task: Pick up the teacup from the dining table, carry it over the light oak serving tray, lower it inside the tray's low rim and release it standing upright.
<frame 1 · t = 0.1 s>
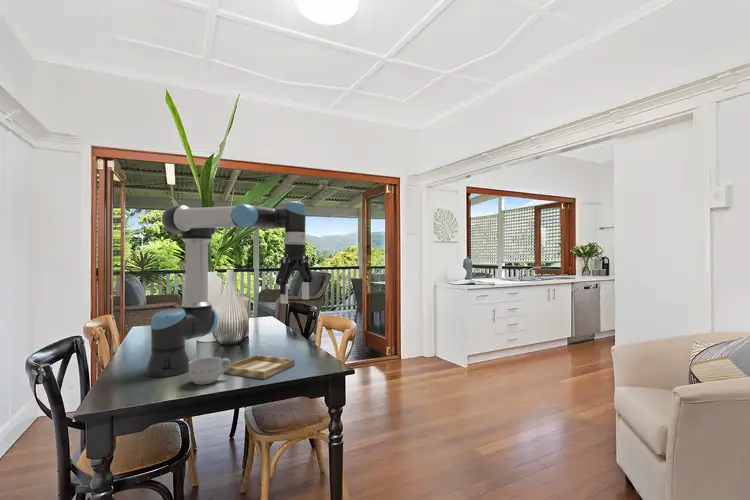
hand: (295, 301, 149), 28 cm above the table, tool pointing down, fingers open, 13 cm apart
serving tray: (260, 369, 158), on the table
teacup: (209, 382, 143), on the table
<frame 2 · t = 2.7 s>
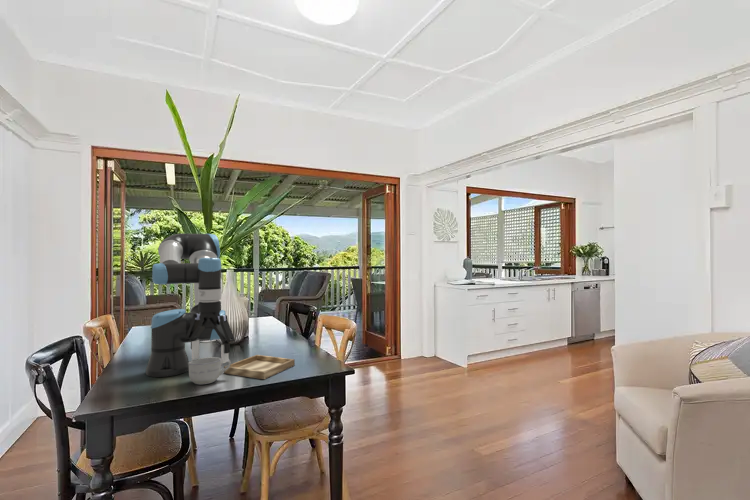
hand: (209, 360, 143), 7 cm above the table, tool pointing down, fingers open, 13 cm apart
teacup: (209, 382, 143), on the table, touching gripper
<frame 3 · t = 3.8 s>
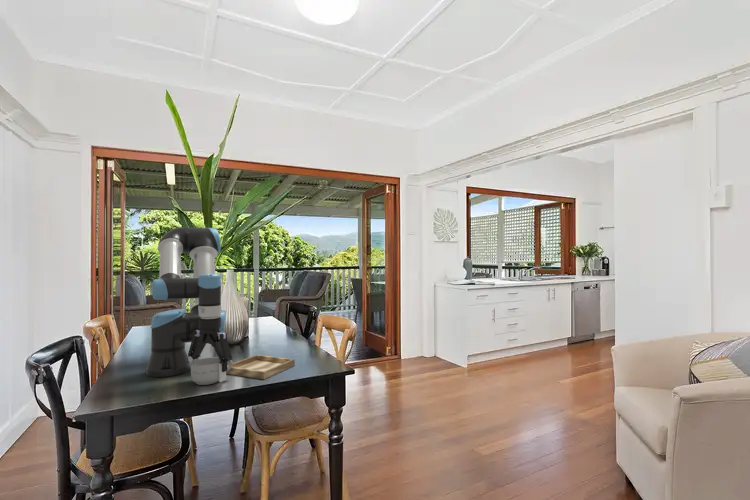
hand: (209, 378, 144), 1 cm above the table, tool pointing down, fingers closed on teacup, 11 cm apart
teacup: (211, 382, 143), on the table, touching gripper
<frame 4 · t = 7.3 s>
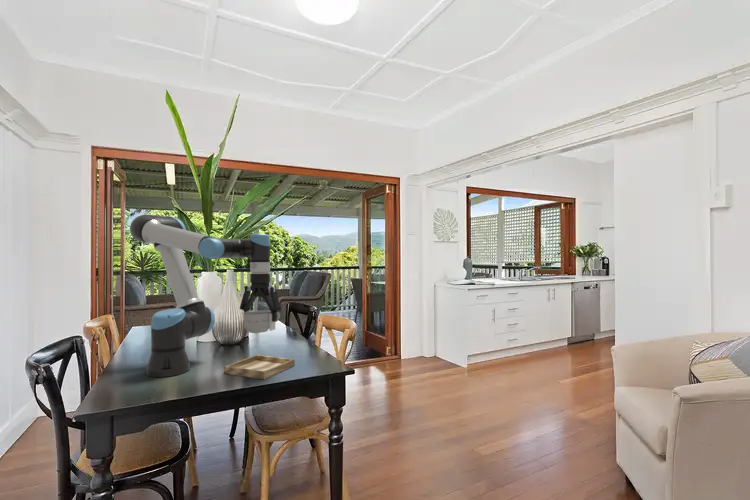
hand: (260, 328, 158), 16 cm above the table, tool pointing down, fingers closed on teacup, 11 cm apart
teacup: (262, 332, 158), point 15 cm above the table, touching gripper
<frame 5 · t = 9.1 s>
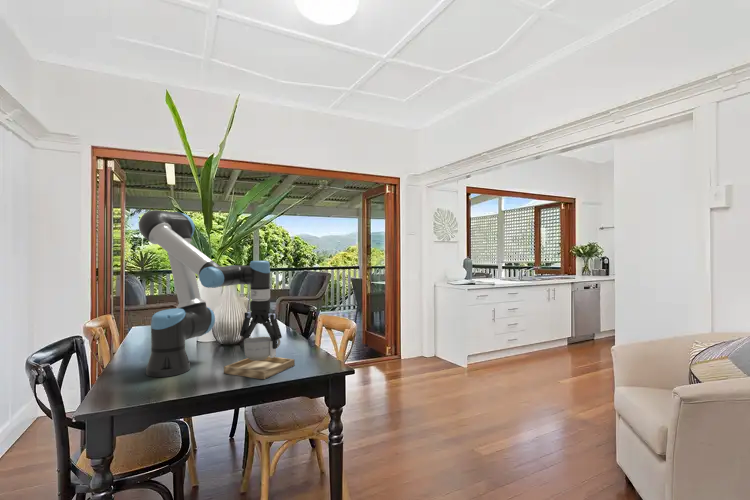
hand: (260, 355, 158), 5 cm above the table, tool pointing down, fingers closed on teacup, 11 cm apart
teacup: (262, 359, 158), point 4 cm above the table, touching gripper
when the fingers open (3 cm above the table, at t = 10.7 s): teacup drops 1 cm, resting on serving tray.
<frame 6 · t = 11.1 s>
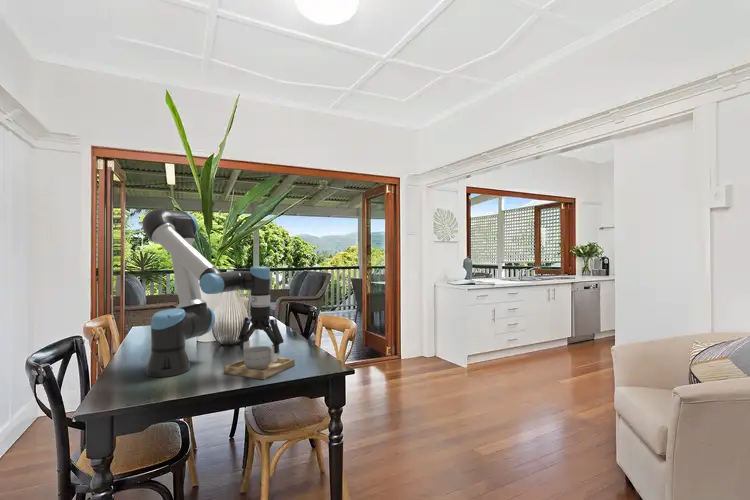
hand: (260, 359, 158), 4 cm above the table, tool pointing down, fingers open, 13 cm apart
teacup: (261, 368, 158), resting on serving tray
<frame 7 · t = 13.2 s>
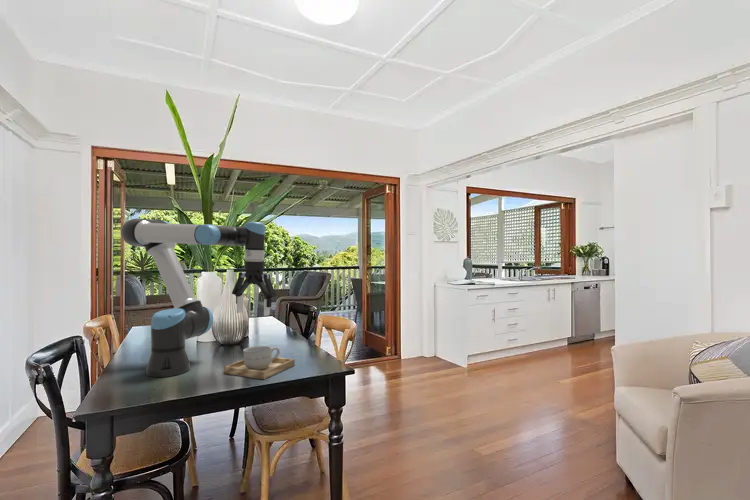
hand: (253, 313, 161), 21 cm above the table, tool pointing down, fingers open, 13 cm apart
nothing on the table moved.
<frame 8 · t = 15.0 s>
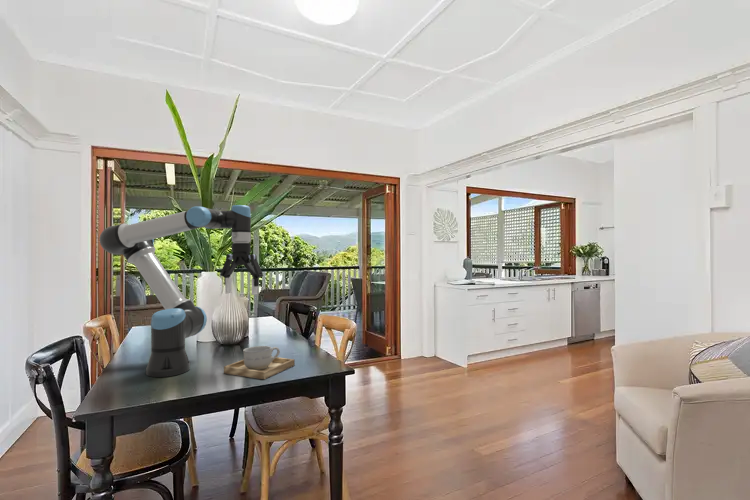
hand: (241, 293, 167), 29 cm above the table, tool pointing down, fingers open, 13 cm apart
nothing on the table moved.
at the end: teacup inside the target area on the serving tray (0.8 cm from its centre), point 0.4 cm above the serving tray's base; teacup tilted 0°; the gripper is holding nothing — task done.
